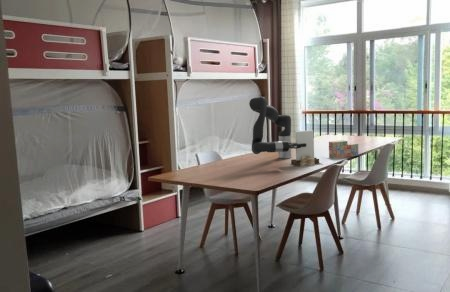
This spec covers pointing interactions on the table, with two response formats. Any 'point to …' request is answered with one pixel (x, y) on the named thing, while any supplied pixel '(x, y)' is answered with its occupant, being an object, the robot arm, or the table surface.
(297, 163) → the walnut rack
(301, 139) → the tall board
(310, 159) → the offcut stack
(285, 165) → the table surface
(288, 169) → the table surface
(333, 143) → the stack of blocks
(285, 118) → the robot arm
